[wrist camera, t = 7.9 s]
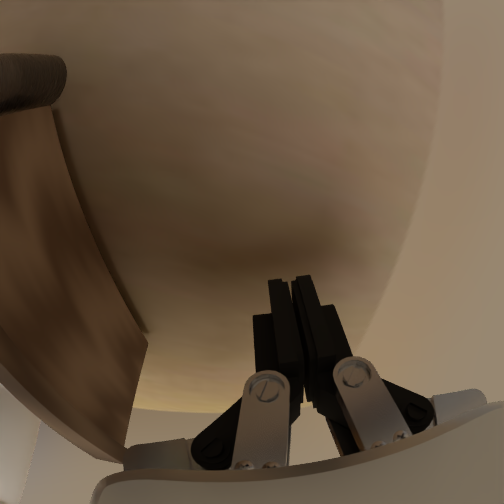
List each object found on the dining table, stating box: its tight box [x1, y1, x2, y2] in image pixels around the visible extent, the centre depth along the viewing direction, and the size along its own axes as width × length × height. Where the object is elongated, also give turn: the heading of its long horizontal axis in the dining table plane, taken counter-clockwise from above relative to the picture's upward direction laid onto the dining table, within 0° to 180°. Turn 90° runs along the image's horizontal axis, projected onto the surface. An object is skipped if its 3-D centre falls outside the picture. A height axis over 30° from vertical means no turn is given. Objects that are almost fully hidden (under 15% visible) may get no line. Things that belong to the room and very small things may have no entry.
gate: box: [0, 105, 148, 464], centre depth 10 cm, size 16×2×9 cm, turn 10°
